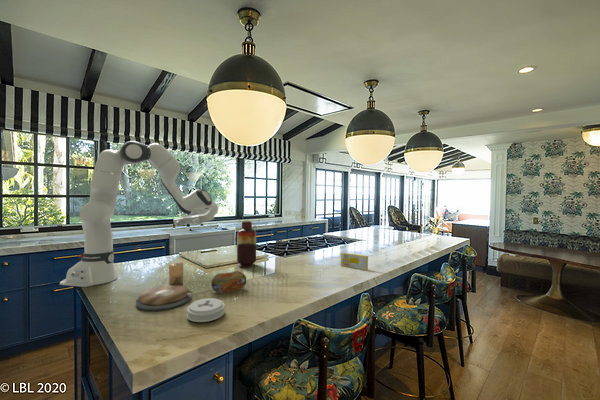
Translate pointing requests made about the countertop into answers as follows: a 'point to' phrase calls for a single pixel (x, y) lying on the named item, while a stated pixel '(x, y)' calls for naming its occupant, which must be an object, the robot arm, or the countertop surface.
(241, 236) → the brown bottle
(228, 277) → the tin
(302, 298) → the countertop surface
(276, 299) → the countertop surface
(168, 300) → the turntable
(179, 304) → the turntable base
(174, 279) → the canister
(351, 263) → the candy box
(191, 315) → the lid
